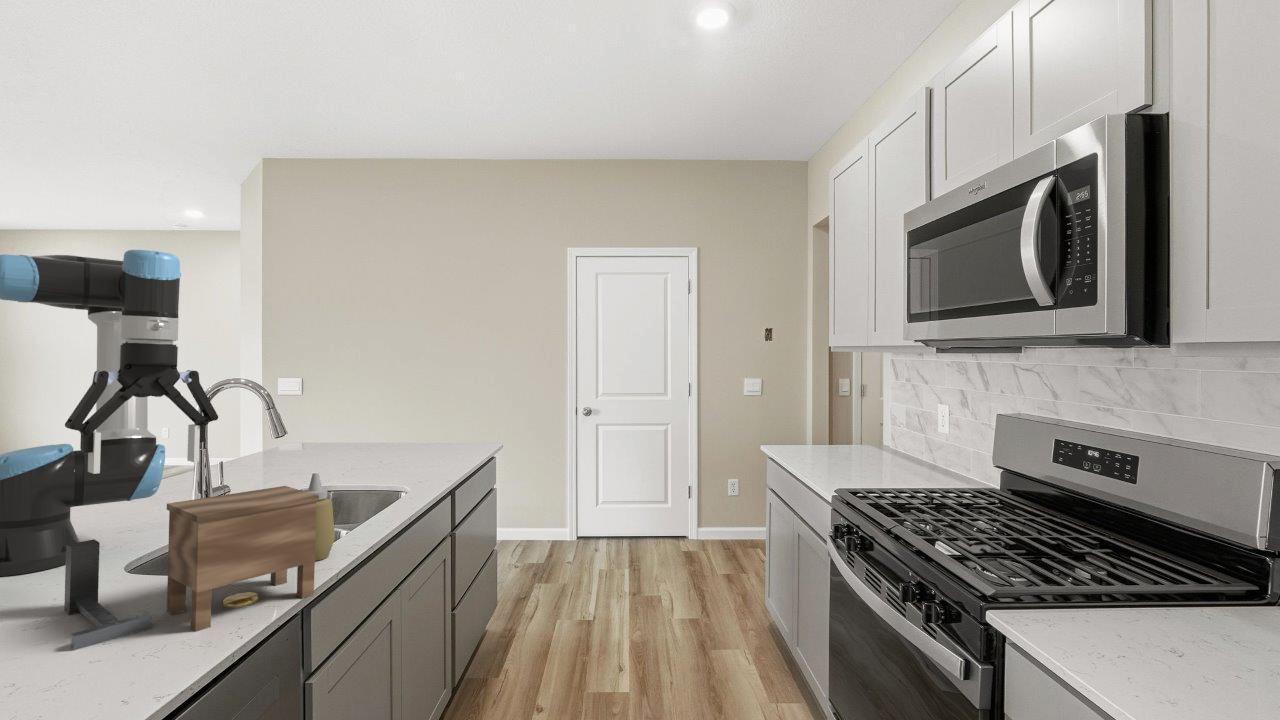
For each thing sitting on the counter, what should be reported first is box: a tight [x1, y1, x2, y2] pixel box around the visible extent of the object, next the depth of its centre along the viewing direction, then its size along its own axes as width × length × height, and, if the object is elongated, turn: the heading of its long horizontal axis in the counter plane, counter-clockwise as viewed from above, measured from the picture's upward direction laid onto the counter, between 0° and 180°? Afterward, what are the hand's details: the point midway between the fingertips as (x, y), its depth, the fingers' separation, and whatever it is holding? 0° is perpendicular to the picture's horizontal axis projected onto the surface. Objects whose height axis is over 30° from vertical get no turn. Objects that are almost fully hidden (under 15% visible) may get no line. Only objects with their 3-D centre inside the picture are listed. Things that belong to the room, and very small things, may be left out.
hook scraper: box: [63, 538, 153, 651], centre depth 94 cm, size 19×9×11 cm, turn 56°
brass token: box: [222, 591, 259, 609], centre depth 103 cm, size 5×5×1 cm
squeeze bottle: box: [304, 472, 336, 562], centre depth 126 cm, size 8×8×18 cm
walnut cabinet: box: [166, 485, 319, 632], centre depth 102 cm, size 13×19×18 cm
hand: (146, 466), depth 100 cm, fingers open, 13 cm apart
